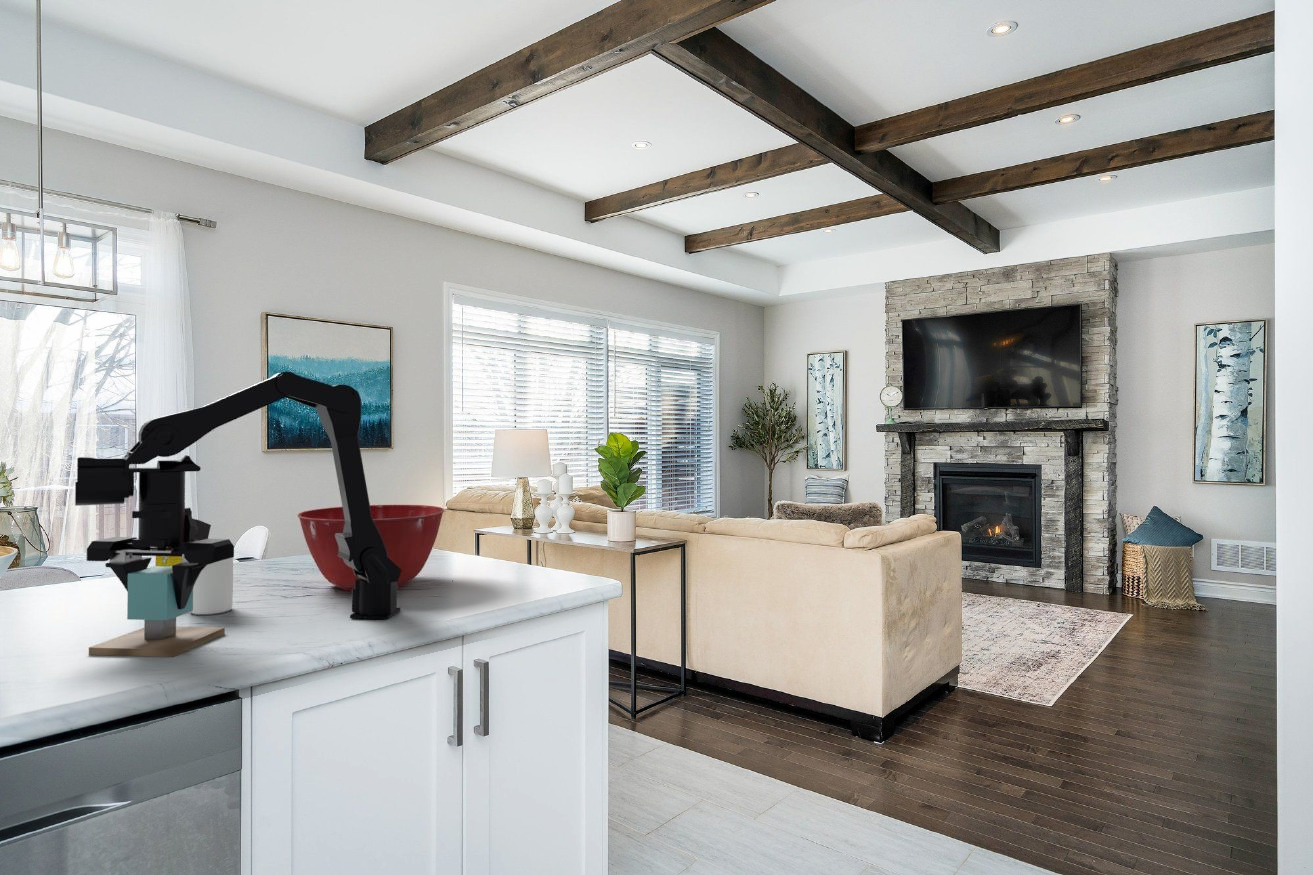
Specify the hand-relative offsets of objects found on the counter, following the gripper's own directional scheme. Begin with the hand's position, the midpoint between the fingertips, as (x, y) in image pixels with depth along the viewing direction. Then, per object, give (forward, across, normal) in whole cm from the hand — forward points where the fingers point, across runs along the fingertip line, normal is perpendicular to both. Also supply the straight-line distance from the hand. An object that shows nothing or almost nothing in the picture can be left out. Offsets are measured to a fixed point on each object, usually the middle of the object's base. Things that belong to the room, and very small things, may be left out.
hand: (161, 608), depth 111 cm
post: (+5, 0, 0) cm, 5 cm away
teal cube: (+1, 0, 0) cm, 1 cm away
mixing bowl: (+6, -13, -45) cm, 47 cm away
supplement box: (+6, +16, -28) cm, 33 cm away
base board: (+5, 0, 0) cm, 5 cm away
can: (+6, +5, -20) cm, 21 cm away
